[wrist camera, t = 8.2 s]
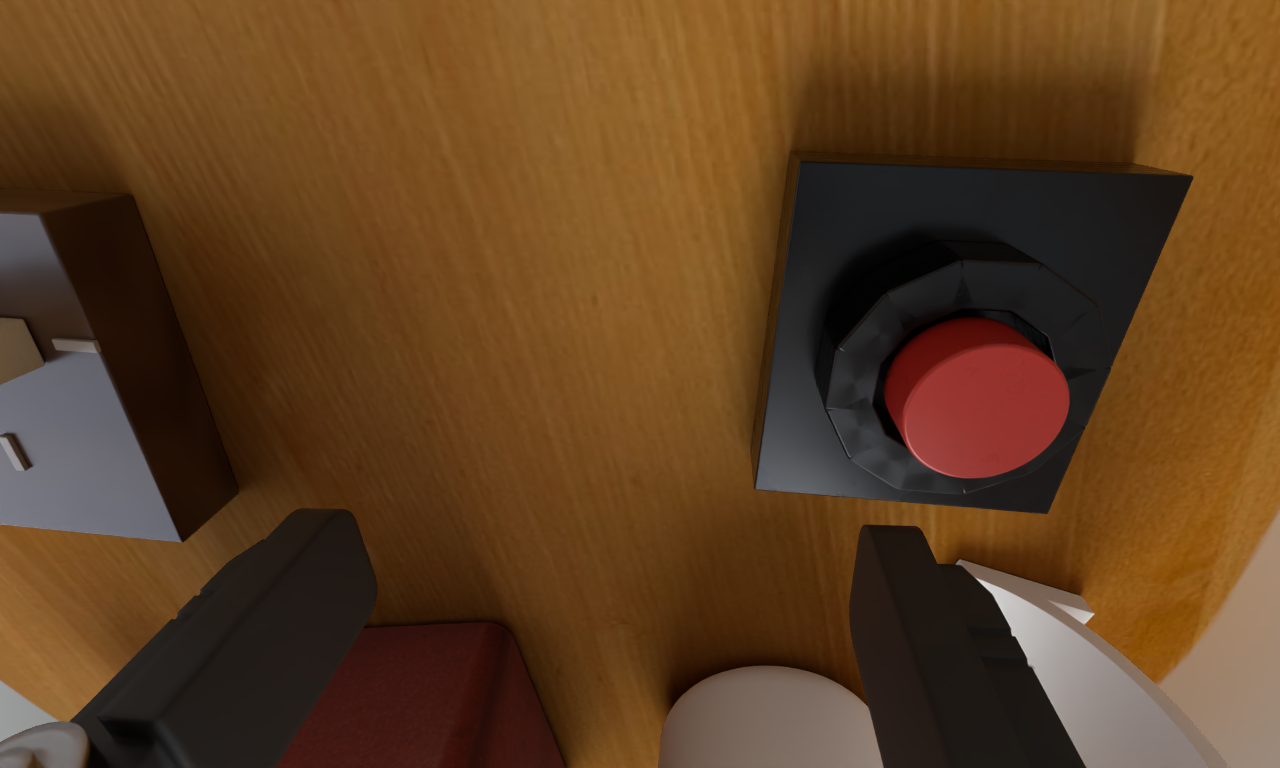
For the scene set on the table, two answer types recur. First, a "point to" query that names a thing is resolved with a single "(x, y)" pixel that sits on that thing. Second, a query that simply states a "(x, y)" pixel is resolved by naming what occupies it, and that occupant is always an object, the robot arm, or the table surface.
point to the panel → (100, 379)
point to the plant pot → (427, 704)
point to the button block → (942, 304)
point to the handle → (17, 350)
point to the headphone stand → (1095, 682)
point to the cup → (768, 723)
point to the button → (975, 397)
